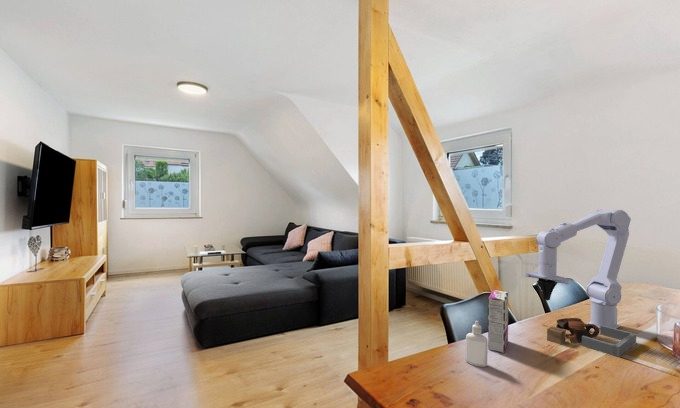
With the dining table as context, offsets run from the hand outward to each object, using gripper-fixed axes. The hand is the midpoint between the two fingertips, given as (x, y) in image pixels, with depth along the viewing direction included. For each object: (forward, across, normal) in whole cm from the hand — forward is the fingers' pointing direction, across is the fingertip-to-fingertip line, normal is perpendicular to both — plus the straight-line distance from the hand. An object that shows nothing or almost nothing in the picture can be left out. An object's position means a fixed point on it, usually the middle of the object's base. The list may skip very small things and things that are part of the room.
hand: (546, 299), depth 122 cm
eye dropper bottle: (+10, +2, -49) cm, 50 cm away
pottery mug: (+10, +11, -4) cm, 16 cm away
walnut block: (+10, +8, -12) cm, 18 cm away
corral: (+10, +18, 0) cm, 21 cm away
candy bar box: (+10, -1, -32) cm, 34 cm away
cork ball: (+10, +8, +7) cm, 15 cm away
